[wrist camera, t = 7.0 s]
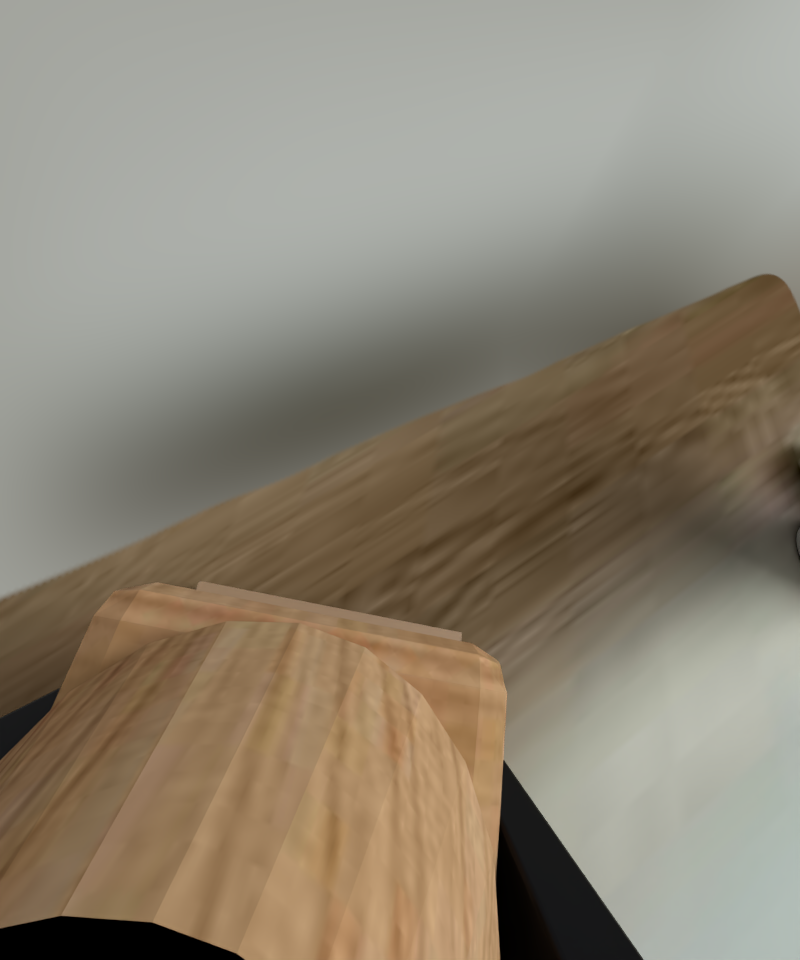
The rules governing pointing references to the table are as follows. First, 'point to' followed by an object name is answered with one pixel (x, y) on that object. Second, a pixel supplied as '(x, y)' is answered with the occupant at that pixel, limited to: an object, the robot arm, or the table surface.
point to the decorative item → (255, 791)
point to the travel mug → (798, 540)
